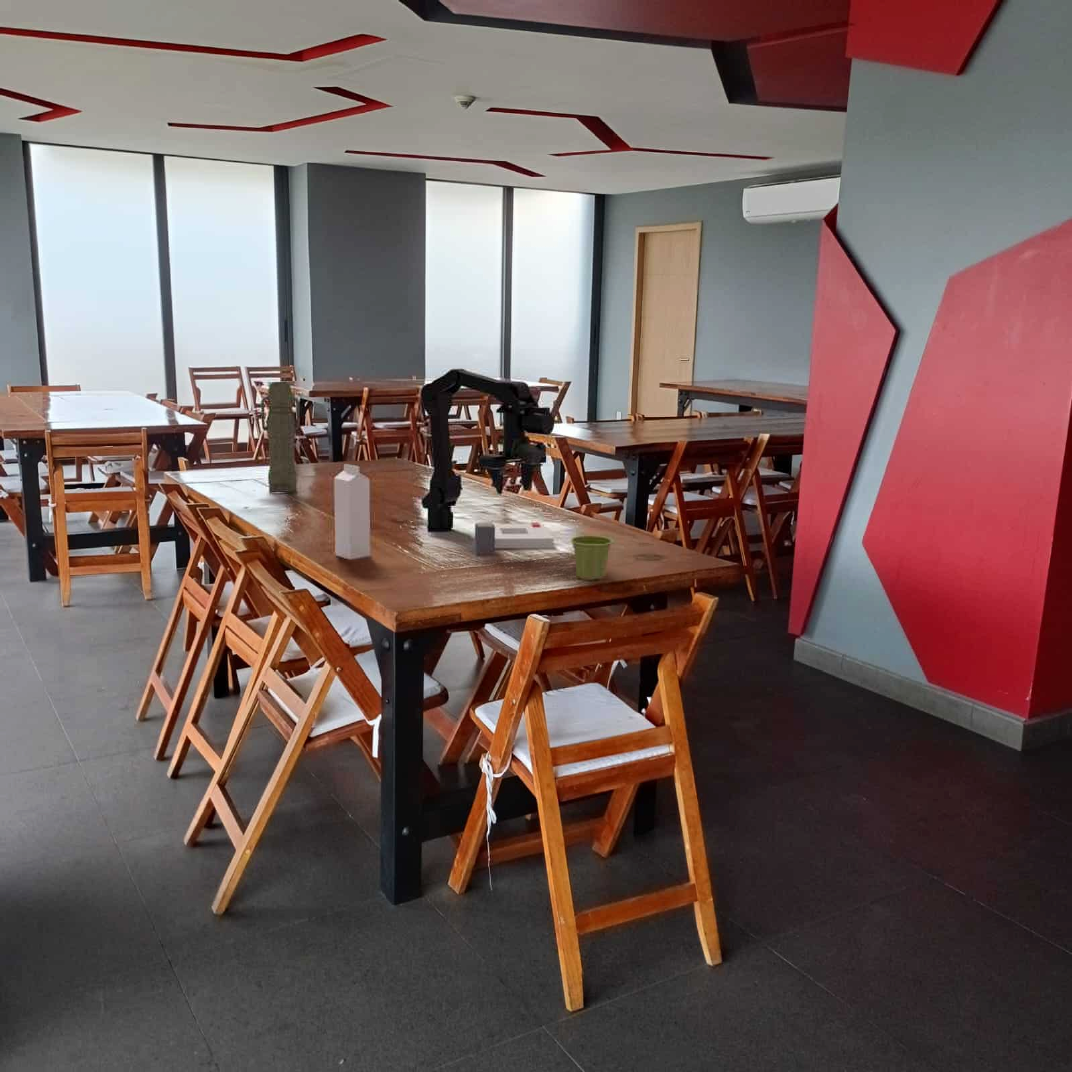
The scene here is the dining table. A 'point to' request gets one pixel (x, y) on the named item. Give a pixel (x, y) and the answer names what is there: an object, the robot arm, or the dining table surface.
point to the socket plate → (522, 536)
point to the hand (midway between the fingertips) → (512, 492)
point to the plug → (484, 538)
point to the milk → (352, 513)
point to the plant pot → (591, 556)
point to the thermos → (281, 436)
